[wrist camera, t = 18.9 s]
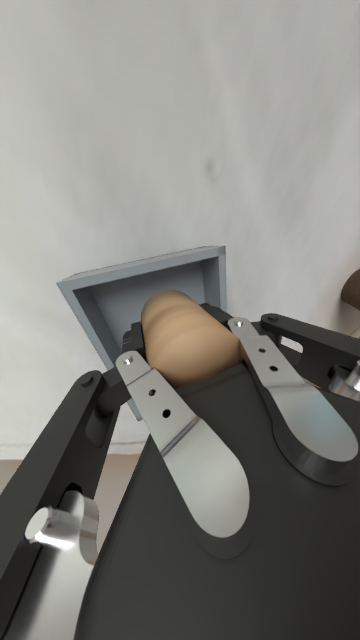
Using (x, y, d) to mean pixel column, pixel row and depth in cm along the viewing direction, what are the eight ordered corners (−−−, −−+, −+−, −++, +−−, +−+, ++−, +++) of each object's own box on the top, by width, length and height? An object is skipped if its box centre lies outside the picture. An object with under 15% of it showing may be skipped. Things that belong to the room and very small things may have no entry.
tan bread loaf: (197, 332, 15) (244, 390, 9) (149, 347, 14) (164, 424, 8) (191, 283, 12) (251, 317, 6) (132, 298, 11) (135, 355, 5)
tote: (213, 364, 29) (227, 384, 25) (136, 393, 26) (138, 421, 22) (203, 246, 19) (225, 245, 15) (75, 273, 16) (56, 283, 12)
